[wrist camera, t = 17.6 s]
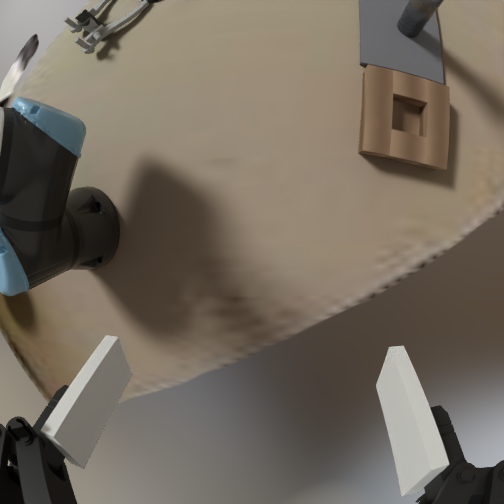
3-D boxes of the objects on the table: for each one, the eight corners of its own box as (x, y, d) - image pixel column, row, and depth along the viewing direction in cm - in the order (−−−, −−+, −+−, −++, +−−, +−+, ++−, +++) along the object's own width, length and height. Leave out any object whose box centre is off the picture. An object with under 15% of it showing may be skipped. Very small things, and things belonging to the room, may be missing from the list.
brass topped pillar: (389, 39, 29) (422, -25, 13) (387, 8, 27) (412, -58, 11) (428, 50, 28) (476, -2, 12) (425, 19, 26) (464, -38, 10)
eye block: (358, 152, 36) (363, 150, 32) (362, 74, 33) (367, 64, 29) (435, 170, 34) (446, 169, 30) (438, 93, 31) (449, 86, 27)
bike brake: (92, 63, 39) (178, -1, 36) (72, 50, 32) (167, -21, 29) (74, 31, 38) (150, -25, 35) (57, 19, 31) (139, -43, 28)
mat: (359, 64, 32) (360, 62, 31) (357, -16, 28) (358, -19, 27) (441, 85, 30) (443, 84, 29) (431, 3, 25) (433, 1, 25)
